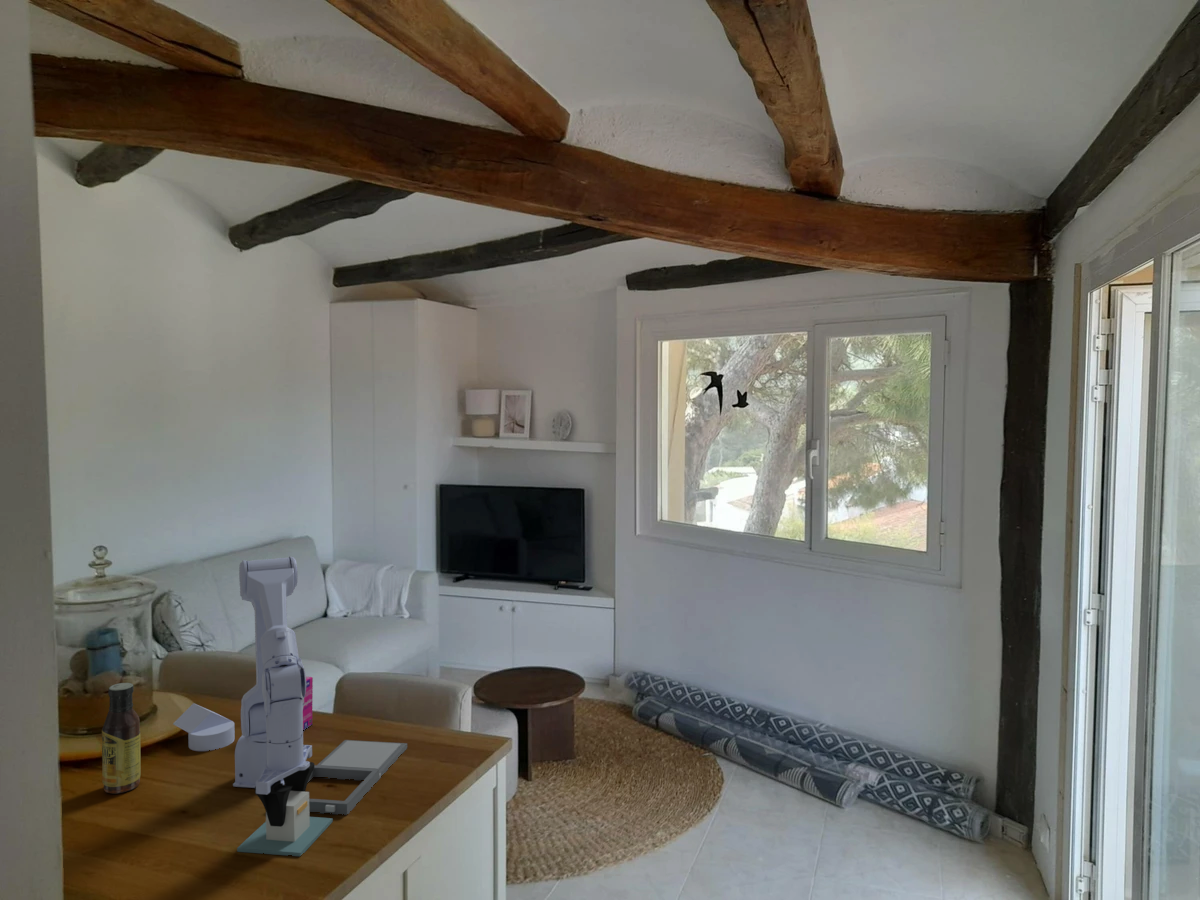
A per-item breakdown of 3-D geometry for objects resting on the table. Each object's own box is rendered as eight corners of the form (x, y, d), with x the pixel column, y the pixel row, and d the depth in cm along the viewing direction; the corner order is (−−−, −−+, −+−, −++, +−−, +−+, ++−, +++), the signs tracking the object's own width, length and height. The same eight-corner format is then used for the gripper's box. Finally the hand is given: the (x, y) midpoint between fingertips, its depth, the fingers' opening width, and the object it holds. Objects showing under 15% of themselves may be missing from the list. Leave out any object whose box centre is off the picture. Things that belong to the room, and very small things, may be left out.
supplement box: (299, 735, 175) (298, 684, 175) (275, 733, 176) (274, 682, 176) (313, 725, 181) (313, 676, 180) (290, 723, 182) (289, 674, 181)
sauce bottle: (98, 788, 150) (95, 685, 149) (134, 777, 155) (132, 677, 154) (109, 799, 146) (106, 693, 145) (146, 788, 150) (143, 685, 149)
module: (266, 839, 131) (265, 804, 131) (282, 824, 136) (281, 790, 136) (295, 841, 130) (295, 806, 130) (310, 826, 135) (310, 791, 135)
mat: (237, 851, 128) (237, 847, 128) (273, 817, 139) (273, 814, 139) (300, 856, 127) (300, 852, 127) (332, 821, 138) (332, 818, 138)
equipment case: (271, 811, 141) (271, 800, 141) (345, 744, 170) (344, 735, 170) (345, 816, 139) (345, 805, 139) (407, 748, 168) (407, 738, 168)
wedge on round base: (173, 739, 173) (200, 754, 165) (172, 708, 173) (199, 723, 165) (214, 726, 180) (242, 741, 172) (213, 697, 180) (241, 710, 172)
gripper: (284, 756, 125) (285, 840, 125) (327, 721, 139) (329, 797, 140) (242, 754, 126) (244, 837, 126) (290, 719, 140) (291, 794, 141)
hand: (286, 816), depth 133 cm, fingers open, 5 cm apart
